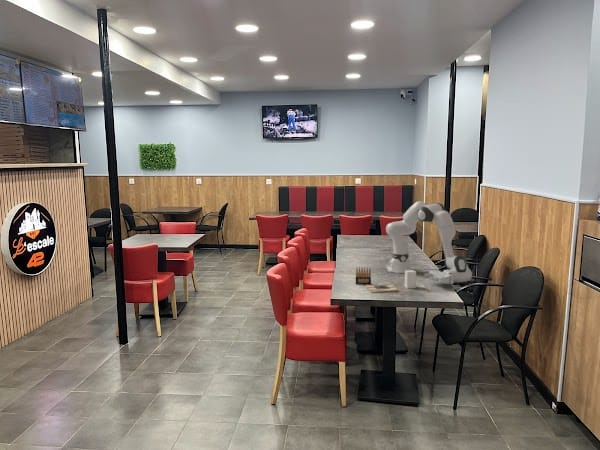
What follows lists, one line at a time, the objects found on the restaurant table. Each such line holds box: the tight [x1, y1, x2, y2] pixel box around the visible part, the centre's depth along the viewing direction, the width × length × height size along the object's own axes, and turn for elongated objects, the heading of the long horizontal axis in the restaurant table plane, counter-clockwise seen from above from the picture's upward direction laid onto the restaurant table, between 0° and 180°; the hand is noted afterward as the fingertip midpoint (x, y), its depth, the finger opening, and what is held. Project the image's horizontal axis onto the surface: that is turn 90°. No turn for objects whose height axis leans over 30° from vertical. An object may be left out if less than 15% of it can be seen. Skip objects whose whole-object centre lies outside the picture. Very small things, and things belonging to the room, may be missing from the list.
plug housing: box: [404, 269, 417, 289], centre depth 299 cm, size 5×6×11 cm
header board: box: [364, 283, 399, 294], centre depth 297 cm, size 16×18×1 cm
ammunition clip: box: [355, 266, 372, 285], centre depth 309 cm, size 11×2×12 cm, turn 80°
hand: (427, 277), depth 300 cm, fingers open, 8 cm apart
